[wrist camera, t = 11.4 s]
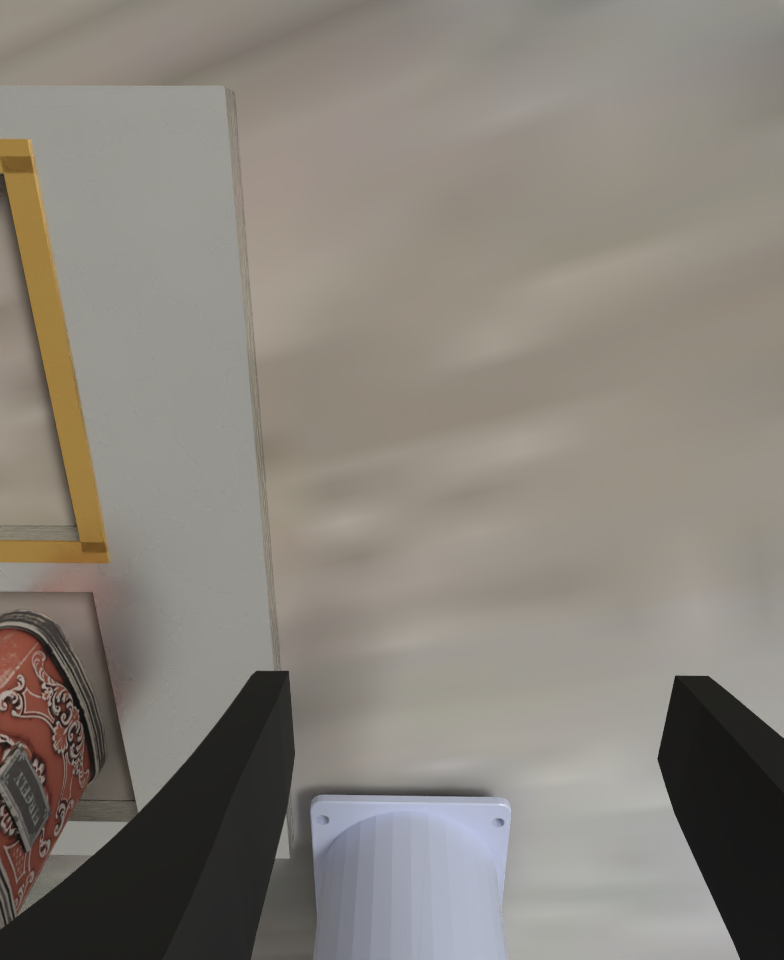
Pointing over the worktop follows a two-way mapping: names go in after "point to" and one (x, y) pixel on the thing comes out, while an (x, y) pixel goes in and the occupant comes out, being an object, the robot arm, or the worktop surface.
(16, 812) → the lighter
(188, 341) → the rail plate
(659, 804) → the worktop surface
